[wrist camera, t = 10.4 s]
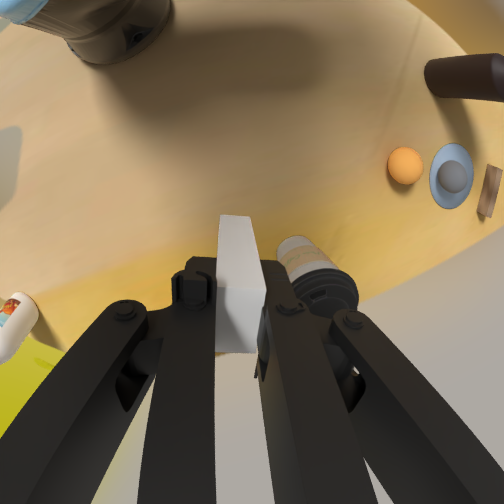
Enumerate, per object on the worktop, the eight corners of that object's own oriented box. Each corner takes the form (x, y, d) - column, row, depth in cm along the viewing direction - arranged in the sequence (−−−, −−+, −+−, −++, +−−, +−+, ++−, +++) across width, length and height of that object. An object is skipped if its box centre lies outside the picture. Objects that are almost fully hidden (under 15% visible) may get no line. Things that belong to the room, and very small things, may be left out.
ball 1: (434, 158, 31) (418, 152, 36) (401, 144, 31) (388, 139, 36) (422, 193, 34) (408, 184, 39) (390, 181, 34) (378, 173, 39)
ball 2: (462, 162, 32) (474, 168, 34) (435, 153, 36) (449, 159, 38) (455, 196, 34) (468, 199, 36) (429, 185, 38) (443, 188, 41)
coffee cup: (295, 211, 40) (329, 260, 27) (336, 249, 43) (378, 306, 30) (251, 257, 43) (263, 323, 29) (294, 290, 46) (319, 356, 32)
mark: (436, 134, 36) (437, 135, 35) (477, 153, 37) (478, 153, 37) (422, 202, 41) (423, 203, 41) (464, 212, 42) (464, 213, 42)
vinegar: (419, 83, 32) (518, 84, 14) (427, 51, 29) (521, 41, 11) (446, 105, 33) (541, 119, 15) (454, 74, 31) (545, 77, 13)
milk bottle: (38, 299, 43) (-11, 369, 25) (41, 326, 46) (0, 394, 28) (11, 285, 41) (-41, 347, 23) (15, 312, 44) (-29, 374, 26)
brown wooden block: (487, 163, 38) (497, 167, 35) (492, 166, 38) (502, 170, 36) (476, 211, 42) (486, 216, 40) (481, 212, 43) (491, 218, 40)
